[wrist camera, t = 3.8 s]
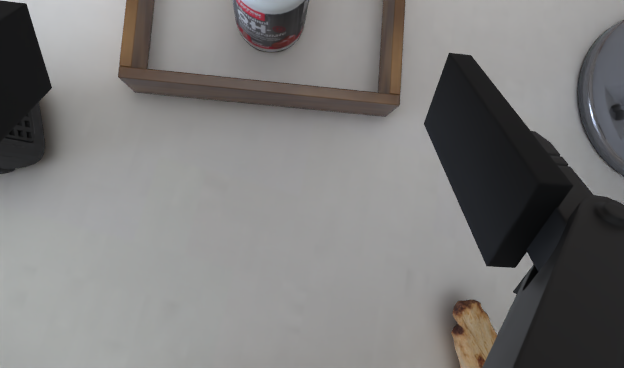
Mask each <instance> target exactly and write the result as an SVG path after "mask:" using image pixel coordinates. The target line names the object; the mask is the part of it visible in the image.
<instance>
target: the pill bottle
mask: <svg viewBox="0 0 624 368" xmlns="http://www.w3.org/2000/svg"><path fill="white" fill-rule="evenodd" d="M308 3H309V0H233V5H234V11H235V18H236V23H237V27H238V29H239V32H240V34H241V35H242V37H243V38H244V39H245V40H246V41H247V42H248V43H249V44H250V45H251V46H253V47H255V48H256V49H259V50H262V51H267V52H276V51H281V50H284V49H286V48H288V47H290V46H291V45H293V44H294V43H295V42H296V41H297V40H298V38H299V37H300V35H301V33H302V30H303V27H304V23H305V17H306V13H307V8H308Z"/></svg>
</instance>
